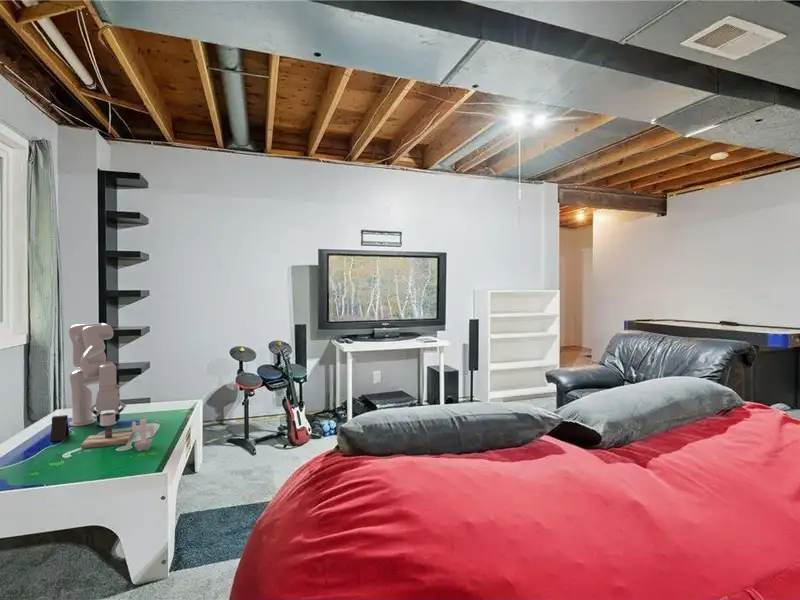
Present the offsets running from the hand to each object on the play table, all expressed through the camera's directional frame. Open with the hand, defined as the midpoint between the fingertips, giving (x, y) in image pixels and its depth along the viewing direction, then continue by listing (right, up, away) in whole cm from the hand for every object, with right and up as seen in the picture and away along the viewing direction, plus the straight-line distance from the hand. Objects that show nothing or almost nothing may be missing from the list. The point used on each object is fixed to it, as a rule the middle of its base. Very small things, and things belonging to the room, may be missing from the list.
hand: (108, 421), depth 224 cm
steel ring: (0, -1, 0) cm, 1 cm away
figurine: (+25, -11, -10) cm, 29 cm away
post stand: (0, -10, 0) cm, 10 cm away
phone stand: (-28, -10, +4) cm, 31 cm away
